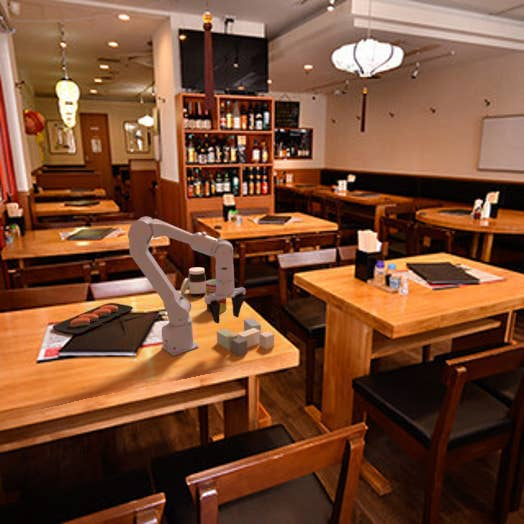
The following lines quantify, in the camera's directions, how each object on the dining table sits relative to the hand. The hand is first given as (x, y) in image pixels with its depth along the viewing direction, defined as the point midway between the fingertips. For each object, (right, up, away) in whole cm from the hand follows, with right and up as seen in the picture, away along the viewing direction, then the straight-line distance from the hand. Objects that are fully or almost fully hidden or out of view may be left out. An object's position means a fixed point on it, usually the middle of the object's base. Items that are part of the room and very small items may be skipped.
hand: (226, 319), depth 134 cm
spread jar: (-20, +4, +54) cm, 57 cm away
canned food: (-7, -1, +34) cm, 34 cm away
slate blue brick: (+8, -7, +11) cm, 15 cm away
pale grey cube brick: (+13, -9, +1) cm, 16 cm away
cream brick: (+7, -9, +3) cm, 12 cm away
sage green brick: (0, -9, +2) cm, 9 cm away
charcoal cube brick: (+4, -10, -3) cm, 12 cm away
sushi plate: (-46, -5, +22) cm, 51 cm away
